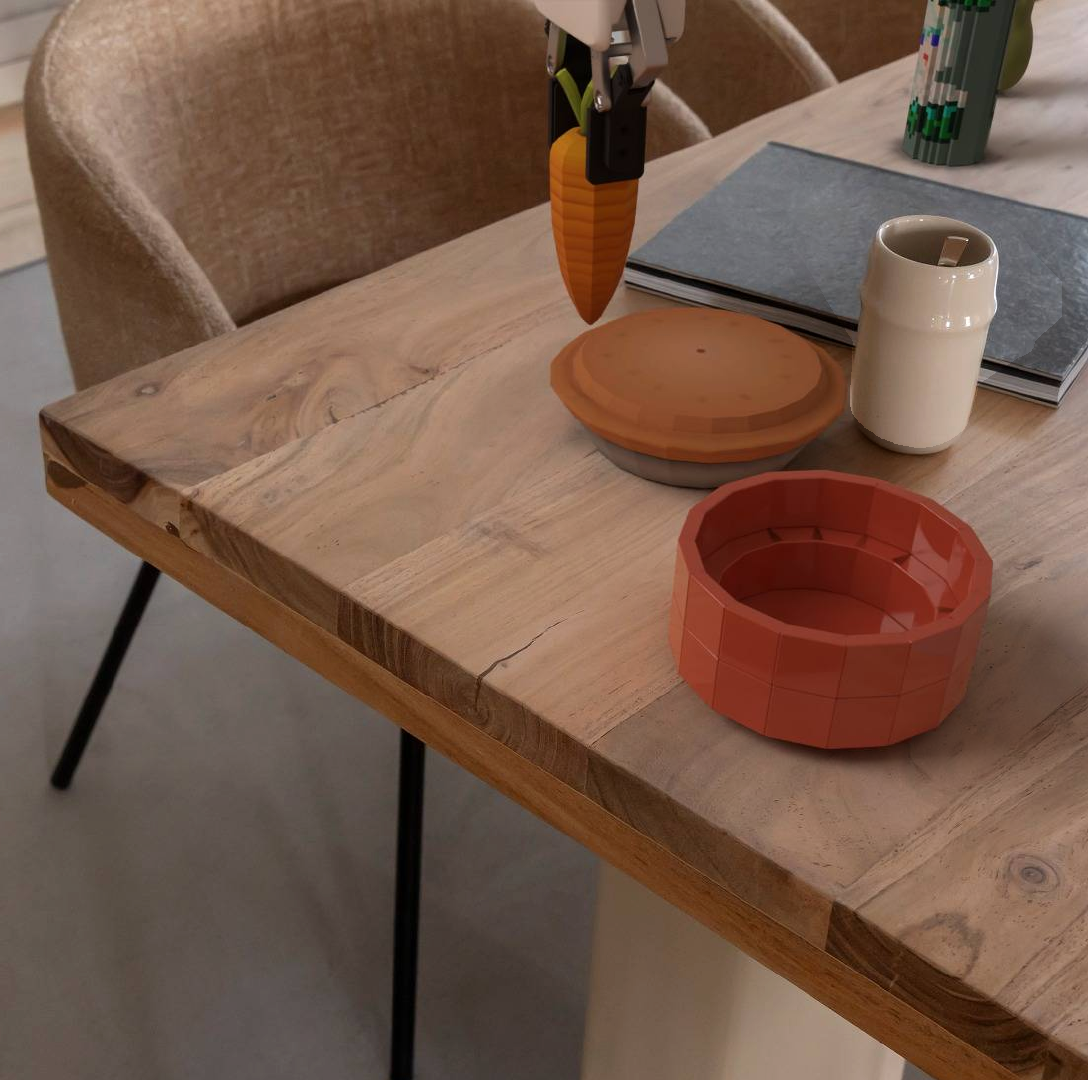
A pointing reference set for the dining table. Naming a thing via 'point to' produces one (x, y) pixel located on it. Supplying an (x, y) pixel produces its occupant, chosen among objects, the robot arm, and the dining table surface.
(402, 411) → the dining table surface
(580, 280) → the carrot
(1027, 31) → the pear
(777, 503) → the bowl
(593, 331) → the pie
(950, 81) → the can
